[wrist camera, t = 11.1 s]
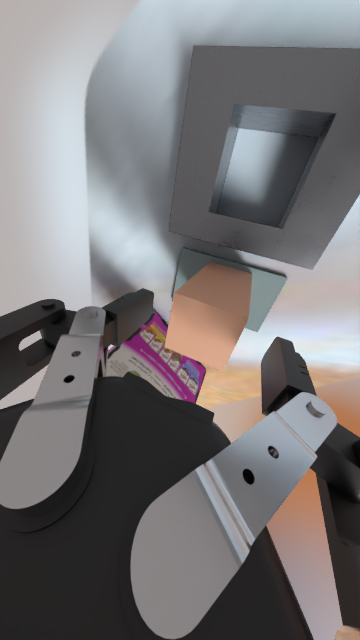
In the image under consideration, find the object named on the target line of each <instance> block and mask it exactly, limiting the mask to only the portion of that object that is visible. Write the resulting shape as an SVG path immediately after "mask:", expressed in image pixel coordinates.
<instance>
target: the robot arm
mask: <svg viewBox="0 0 360 640" xmlns="http://www.w3.org/2000/svg"><path fill="white" fill-rule="evenodd" d="M153 299H154V293H153V292H152V291H149V290H146V289H144V288H142V289H140V290H138V291H137V292H135V293H134V292H133V293H129V294H126V295H124V296H122V297H121V298H118V299H117V300H115V301H113V302H111V303H109V304H108V305H106V306H104V307H102V308H100V307H95V306H90V307H85V308H82V309H80V310H78V311H77V312H76V311H70V310H66V309H65V305H64V302H62V301H60V300H56V299H46V300H41V301H38V302H36V303H33V304H31V305H28V306H26V307H23V308H21V309H18V310H16V311H13V312H11V313H8V314H6V315H3V316H1V317H0V400H1V399H2V398H4V397H5V396H6V395H7V394H9V393H10V392H12V391H13V390H14V389H16V388H17V387H18V386H19V385H21V384H22V383H24V382H25V381H26V380H28V379H29V378H30V377H32V376H33V375H35V374H36V373H37V372H38V371H40V370H41V369H43V368H44V367H45V366H47V365H48V364H49V365H48V368H47V371H46V373H45V375H44V377H43V380H42V382H41V385H40V387H39V389H38V392H37V394H36V397H35V399H31V400H28V401H25V402H22V403H19V404H16V405H13V406H10V407H7V408H4V409H0V640H314V639H313V637H312V634H311V632H310V629H309V627H308V624H307V622H306V620H305V617H304V615H303V612H302V610H301V608H300V605H299V603H298V600H297V598H296V596H295V593H294V591H293V589H292V586H291V584H290V581H289V579H288V577H287V574H286V572H285V569H284V567H283V565H282V562H281V560H280V557H279V555H278V553H277V550H276V548H275V545H274V543H273V541H272V538H271V536H270V533H269V531H268V529H267V526H266V524H267V523H268V522H269V520H270V519H271V518H272V516H273V515H274V514H275V512H276V511H277V510H278V509H279V507H280V506H281V505H282V503H283V502H284V501H285V499H286V498H287V497H288V495H289V494H290V493H291V491H292V490H293V489H294V487H295V486H296V485H297V484H298V482H299V481H300V480H301V478H302V477H303V476H304V474H305V473H306V471H307V470H308V469H309V468H311V469H312V470H313V471H314V472H315V473H316V477H317V483H318V488H319V494H320V499H321V505H322V511H323V516H324V521H325V527H326V533H327V539H328V544H329V550H330V555H331V561H332V566H333V572H334V578H335V583H336V589H337V594H338V600H339V605H340V611H341V617H342V622H343V626H342V627H340V628H339V629H338V631H337V633H336V635H335V639H334V640H360V438H359V437H358V436H356V435H355V434H353V433H352V432H350V431H349V430H347V429H346V428H344V427H343V426H341V425H340V424H338V423H337V418H336V416H335V414H334V412H333V411H332V409H331V408H330V407H329V406H328V405H327V404H326V403H325V402H324V401H323V400H321V399H320V398H318V397H317V396H316V393H315V389H314V386H313V383H312V381H311V378H310V376H309V372H308V370H307V366H306V363H305V361H304V359H303V358H302V357H301V356H300V354H299V353H296V352H295V350H294V346H293V343H292V342H291V341H289V340H286V339H283V338H280V337H276V338H275V339H274V341H273V342H272V344H271V346H270V347H269V349H268V350H267V352H266V353H265V355H264V357H263V359H262V362H261V387H262V414H264V415H266V416H267V417H265V418H264V419H263V420H261V421H260V422H259V423H258V424H256V425H255V426H254V427H252V428H251V429H250V430H248V431H247V432H246V433H245V434H243V435H242V436H241V437H239V438H238V439H237V440H235V441H234V442H233V443H231V442H230V441H229V439H228V438H227V436H226V435H225V434H224V432H223V431H222V430H221V429H220V428H219V427H218V426H217V425H216V424H215V423H214V422H213V417H214V413H213V412H211V411H209V410H207V409H205V408H203V407H201V406H199V405H197V404H195V403H193V402H190V401H185V400H180V399H176V398H171V397H167V396H165V395H164V394H162V393H161V392H160V391H159V390H158V389H157V388H155V387H154V386H153V385H152V384H151V383H150V382H148V381H147V380H145V379H143V378H141V377H139V376H137V375H135V374H133V373H131V372H129V371H128V372H127V373H126V374H125V375H124V376H123V377H119V376H107V377H106V370H107V359H108V346H109V345H111V344H112V345H114V346H116V347H119V346H120V345H121V344H122V343H123V342H125V341H126V340H127V339H128V338H129V337H130V336H131V335H132V334H133V333H134V332H136V331H137V330H138V329H139V328H140V327H141V326H142V325H143V324H144V323H146V322H147V321H148V320H149V318H150V317H151V314H152V308H153ZM39 330H40V333H41V336H42V339H40V340H38V341H37V342H35V343H33V344H32V345H30V346H28V347H27V348H25V349H23V350H21V351H20V350H19V344H20V342H21V341H22V339H24V338H26V337H28V336H30V335H31V334H33V333H35V332H37V331H39Z"/></svg>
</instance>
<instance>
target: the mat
mask: <svg viewBox="0 0 360 640" xmlns="http://www.w3.org/2000/svg"><path fill="white" fill-rule="evenodd" d="M209 262H214V263H218V264H221V265H225V266H228V267H231V268H235V269H238V270H242V271H245V272H249V273H252V283H251V296H250V309H249V319H248V321H247V323H246V325H245V328H247V329H250V330H253V331H256V332H258V330H259V329H260V327H261V325H262V323H263V321H264V320H265V318H266V316H267V314H268V312H269V311H270V309H271V307H272V305H273V303H274V302H275V300H276V298H277V296H278V295H279V293H280V291H281V289H282V287H283V286H284V284H285V282H286V280H287V277H285V276H282V275H278V274H274V273H271V272H267V271H264V270H260V269H257V268H253V267H250V266H246V265H243V264H239V263H236V262H232V261H229V260H225V259H222V258H218V257H215V256H211V255H208V254H204V253H201V252H197V251H194V250H190V249H186V248H182V249H181V254H180V260H179V265H178V271H177V276H176V282H175V287H174V293H175V292H176V291H177V290H178V289H179V288H181V287H182V286H183V285H184V284H185V283H186V282H187V281H189V280H190V279H191V278H192V277H193V276H194V275H196V274H197V273H198V272H199V271H200V270H201V269H202V268H204V267H205V266H206V265H207V264H208V263H209ZM174 293H173V298H174ZM173 298H172V302H173Z"/></svg>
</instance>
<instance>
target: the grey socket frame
mask: <svg viewBox="0 0 360 640" xmlns="http://www.w3.org/2000/svg"><path fill="white" fill-rule="evenodd" d="M238 128H244V129H252V130H261V131H269V132H278V133H286V134H294V135H303V136H311V137H319V138H318V141H317V143H316V145H315V147H314V149H313V152H312V154H311V156H310V158H309V161H308V163H307V165H306V167H305V169H304V172H303V174H302V176H301V178H300V180H299V183H298V185H297V187H296V189H295V192H294V194H293V196H292V198H291V200H290V203H289V205H288V207H287V209H286V212H285V214H284V216H283V218H282V220H281V223H280V225H279V227H278V228H276V227H272V226H268V225H263V224H259V223H255V222H250V221H246V220H242V219H237V218H233V217H228V216H224V215H220V214H216V212H217V209H218V205H219V201H220V197H221V193H222V189H223V186H224V182H225V178H226V174H227V170H228V166H229V163H230V159H231V155H232V151H233V147H234V143H235V140H236V136H237V132H238ZM359 194H360V49H350V48H296V47H241V46H193V54H192V61H191V68H190V76H189V83H188V91H187V98H186V105H185V113H184V120H183V127H182V135H181V142H180V149H179V157H178V164H177V172H176V179H175V186H174V194H173V201H172V208H171V216H170V223H169V232H173V233H177V234H181V235H184V236H188V237H192V238H196V239H199V240H203V241H207V242H210V243H214V244H218V245H222V246H225V247H229V248H233V249H237V250H240V251H244V252H248V253H252V254H255V255H259V256H263V257H267V258H270V259H274V260H278V261H281V262H285V263H289V264H293V265H296V266H300V267H304V268H308V269H311V270H313V268H314V266H315V265H316V263H317V262H318V260H319V258H320V257H321V255H322V254H323V252H324V250H325V249H326V247H327V246H328V244H329V242H330V241H331V239H332V238H333V236H334V234H335V233H336V231H337V230H338V228H339V226H340V225H341V223H342V222H343V220H344V218H345V217H346V215H347V214H348V212H349V210H350V209H351V207H352V206H353V204H354V202H355V201H356V199H357V198H358V196H359Z"/></svg>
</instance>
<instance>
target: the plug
mask: <svg viewBox="0 0 360 640" xmlns="http://www.w3.org/2000/svg"><path fill="white" fill-rule="evenodd" d="M251 283H252V273H249V272H245V271H242V270H238V269H235V268H231V267H228V266H225V265H221V264H218V263H214V262H209V263H208V264H207V265H206V266H205V267H204V268H202V269H201V270H200V271H199V272H198V273H197V274H196V275H194V276H193V277H192V278H191V279H190V280H189V281H187V282H186V283H185V284H184V285H183V286H182V287H181V288H179V289H178V290H177V291H176V292H175V293H174V298H173V303H172V309H171V314H170V320H169V325H168V330H167V336H166V341H165V347H166V348H168V349H170V350H173V351H175V352H177V353H180V354H182V355H184V356H187V357H189V358H191V359H194V360H196V361H199V362H201V363H203V364H206V365H208V366H210V367H213V368H215V369H217V370H220V371H222V372H223V370H224V368H225V366H226V364H227V362H228V360H229V358H230V355H231V353H232V351H233V349H234V347H235V345H236V343H237V341H238V339H239V337H240V335H241V333H242V331H243V329H244V327H245V325H246V323H247V321H248V319H249V309H250V296H251Z"/></svg>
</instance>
